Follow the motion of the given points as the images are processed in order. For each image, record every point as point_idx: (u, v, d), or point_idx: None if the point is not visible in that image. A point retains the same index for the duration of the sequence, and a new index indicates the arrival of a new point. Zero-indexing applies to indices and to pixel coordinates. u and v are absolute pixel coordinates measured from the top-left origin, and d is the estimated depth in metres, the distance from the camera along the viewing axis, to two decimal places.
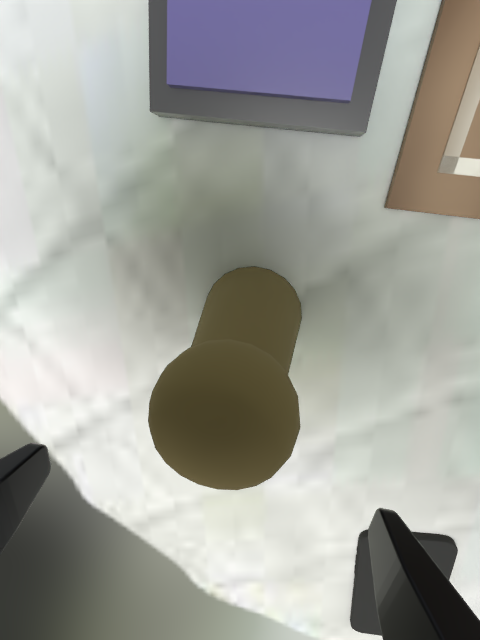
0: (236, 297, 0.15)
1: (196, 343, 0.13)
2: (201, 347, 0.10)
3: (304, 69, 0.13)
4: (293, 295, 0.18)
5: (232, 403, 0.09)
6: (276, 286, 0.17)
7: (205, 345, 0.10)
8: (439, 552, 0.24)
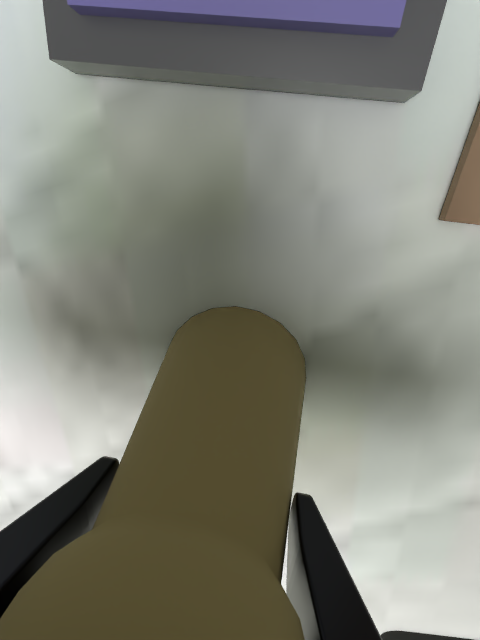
0: (200, 374, 0.09)
1: (114, 485, 0.07)
2: (76, 585, 0.04)
3: None
4: (294, 351, 0.12)
5: None
6: (268, 342, 0.11)
7: (89, 574, 0.04)
8: None
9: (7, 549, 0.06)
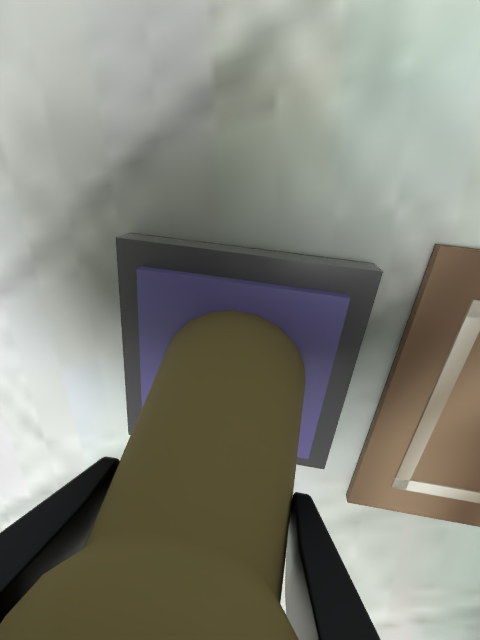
0: (197, 381, 0.09)
1: (108, 499, 0.07)
2: (64, 614, 0.04)
3: None
4: (293, 356, 0.11)
5: None
6: (266, 347, 0.10)
7: (78, 602, 0.04)
8: None
9: (9, 549, 0.06)
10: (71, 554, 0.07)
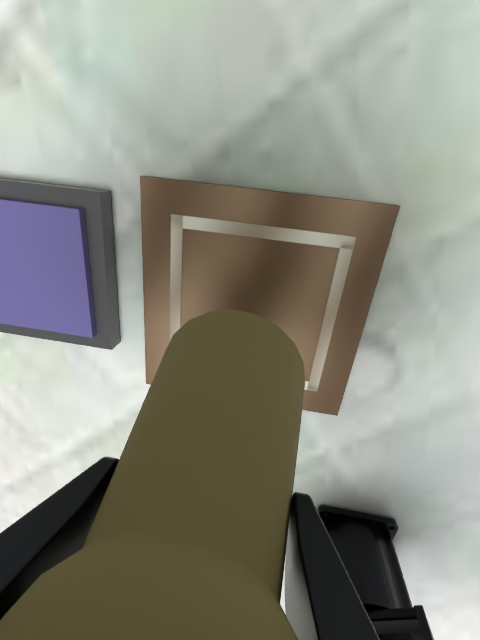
0: (196, 381, 0.09)
1: (106, 499, 0.06)
2: (61, 615, 0.04)
3: (60, 320, 0.20)
4: (293, 355, 0.11)
5: None
6: (266, 347, 0.10)
7: (75, 602, 0.04)
8: None
9: (9, 549, 0.06)
10: (71, 554, 0.07)
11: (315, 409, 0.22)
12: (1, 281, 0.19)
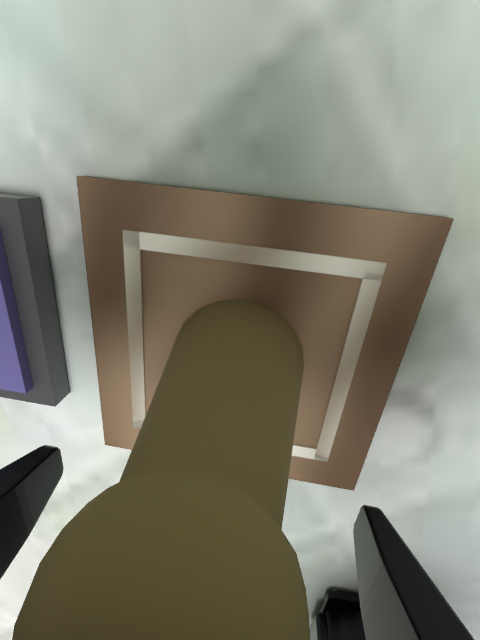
0: (207, 358, 0.10)
1: (135, 451, 0.08)
2: (114, 515, 0.05)
3: None
4: (292, 339, 0.13)
5: None
6: (268, 331, 0.12)
7: (123, 507, 0.05)
8: None
9: None
10: None
11: (324, 482, 0.17)
12: None
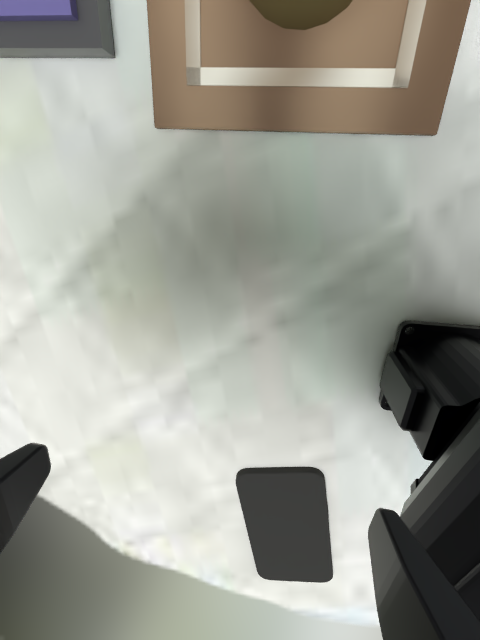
0: None
1: None
2: None
3: None
4: None
5: None
6: None
7: None
8: (308, 484, 0.25)
9: None
10: None
11: (403, 128, 0.15)
12: None
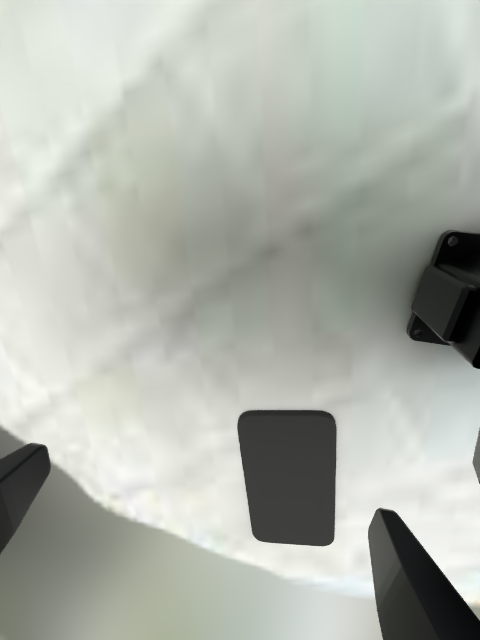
0: None
1: None
2: None
3: None
4: None
5: None
6: None
7: None
8: (318, 430, 0.23)
9: None
10: None
11: None
12: None
